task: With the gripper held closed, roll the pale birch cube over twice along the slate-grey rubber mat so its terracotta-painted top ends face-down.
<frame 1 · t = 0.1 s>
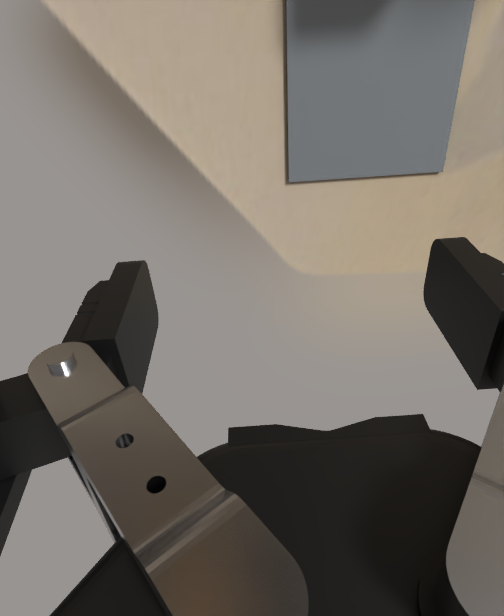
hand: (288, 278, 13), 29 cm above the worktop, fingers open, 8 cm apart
slate mat: (378, 19, 34), on the worktop
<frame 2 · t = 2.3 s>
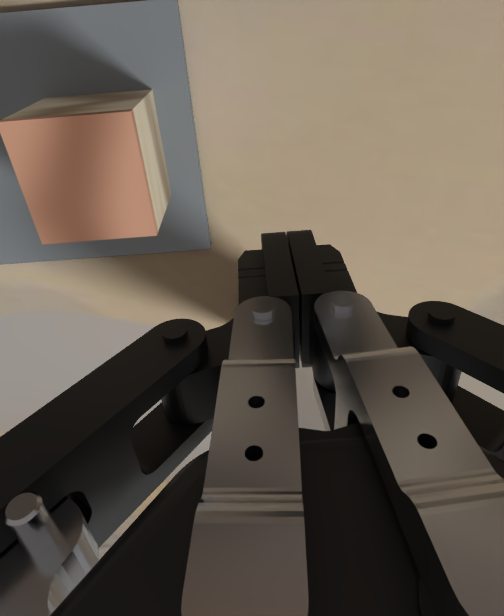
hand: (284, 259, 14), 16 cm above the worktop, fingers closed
drinking glass: (272, 311, 34), on the worktop
birch cube: (112, 149, 26), resting on slate mat
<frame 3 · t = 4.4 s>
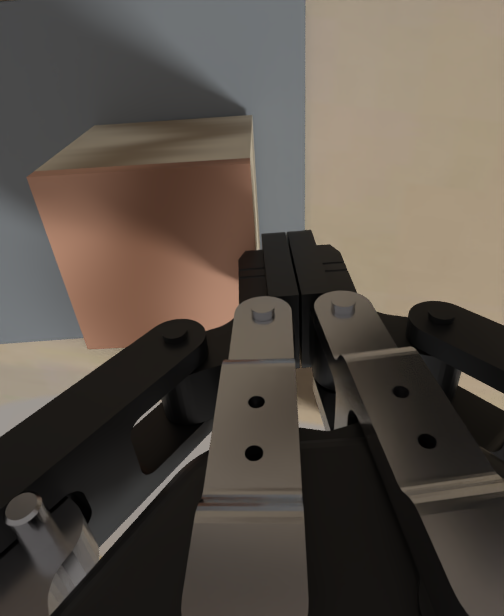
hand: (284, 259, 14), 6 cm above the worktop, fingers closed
slate mat: (22, 204, 19), on the worktop
birch cube: (184, 197, 18), point 1 cm above the worktop, touching gripper, slate mat
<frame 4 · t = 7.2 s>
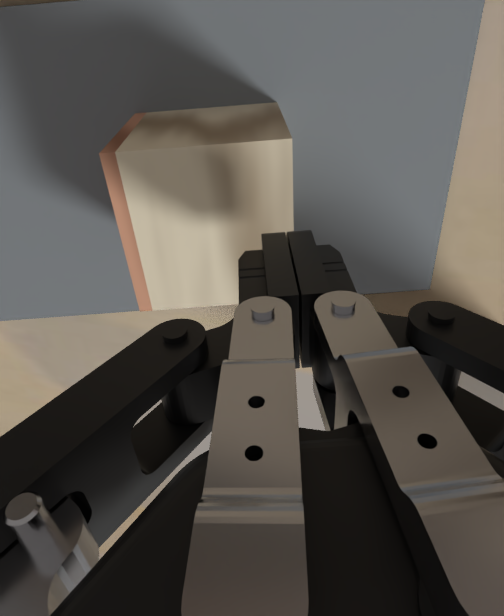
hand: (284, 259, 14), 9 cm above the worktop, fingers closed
drinking glass: (474, 359, 28), on the worktop
slate mat: (192, 177, 21), on the worktop
birch cube: (285, 196, 18), point 3 cm above the worktop, tilted 90°, touching slate mat
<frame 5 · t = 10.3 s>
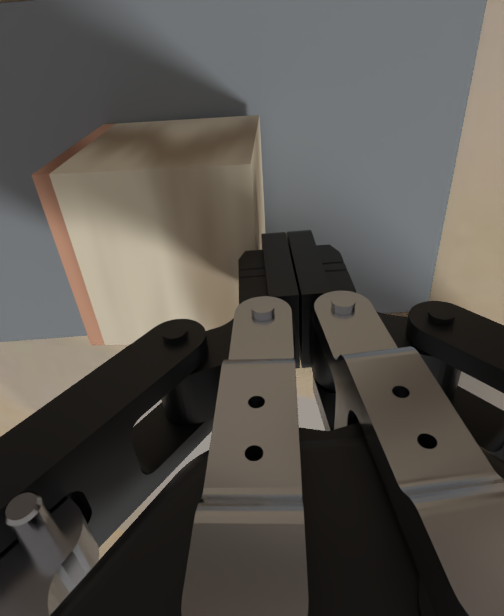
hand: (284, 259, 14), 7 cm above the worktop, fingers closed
drinking glass: (474, 381, 26), on the worktop
slate mat: (169, 192, 19), on the worktop
birch cube: (260, 223, 16), point 4 cm above the worktop, tilted 95°, touching gripper, slate mat
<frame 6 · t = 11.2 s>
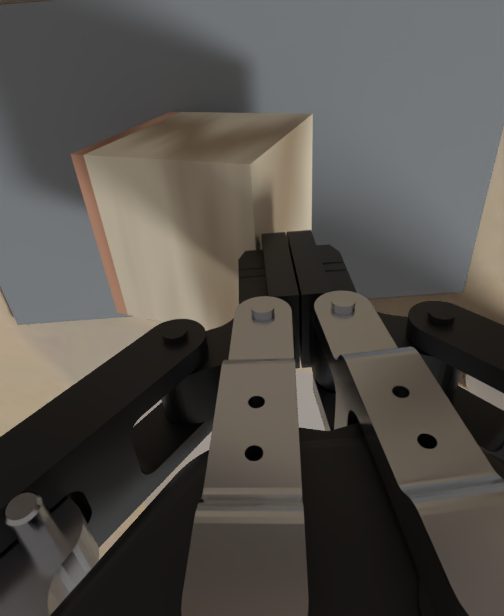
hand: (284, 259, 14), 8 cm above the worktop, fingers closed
drinking glass: (503, 363, 28), on the worktop
slate mat: (226, 177, 20), on the worktop
birch cube: (288, 224, 16), point 6 cm above the worktop, tilted 114°, touching gripper, slate mat
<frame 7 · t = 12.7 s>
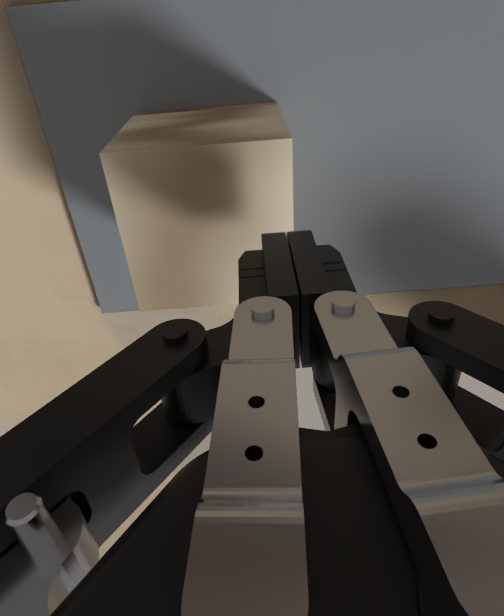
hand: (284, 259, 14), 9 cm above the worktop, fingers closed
slate mat: (321, 167, 21), on the worktop
birch cube: (207, 234, 15), point 6 cm above the worktop, tilted 180°, touching slate mat
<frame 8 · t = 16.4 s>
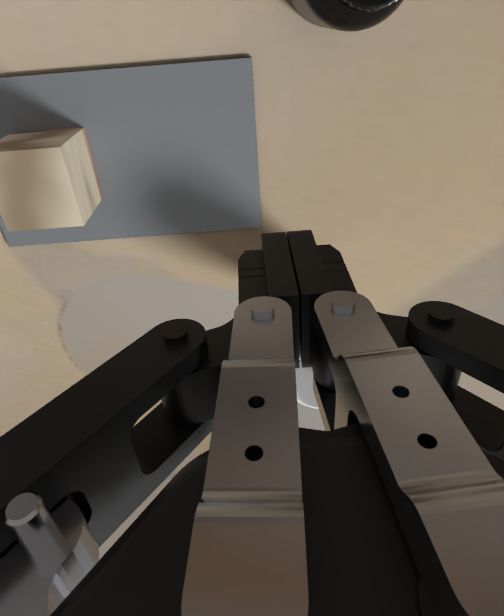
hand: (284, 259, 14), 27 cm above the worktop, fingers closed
drinking glass: (303, 275, 46), on the worktop
slate mat: (117, 161, 38), on the worktop
birch cube: (32, 191, 33), point 6 cm above the worktop, tilted 180°, touching slate mat
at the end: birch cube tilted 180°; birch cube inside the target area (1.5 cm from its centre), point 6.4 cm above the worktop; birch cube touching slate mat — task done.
